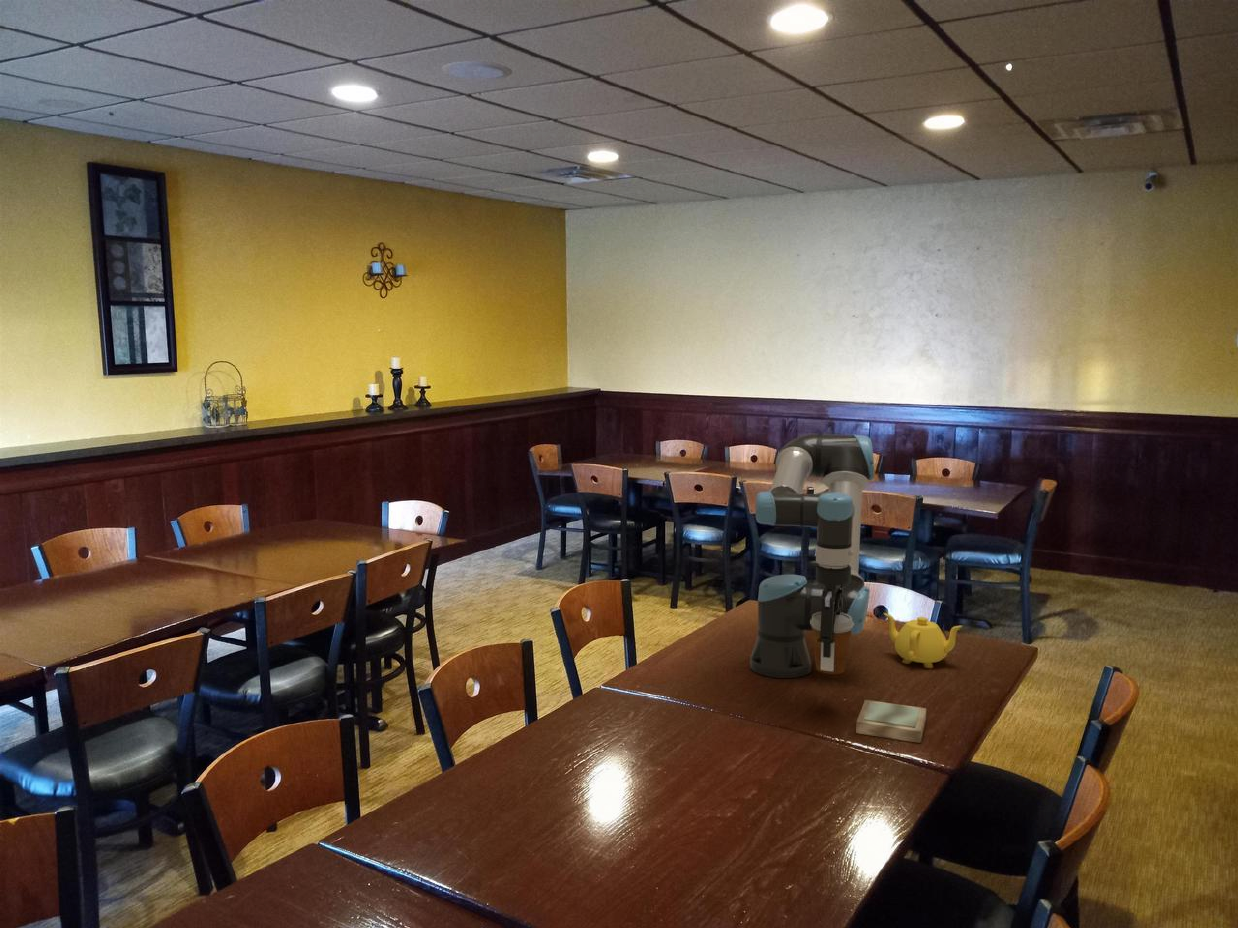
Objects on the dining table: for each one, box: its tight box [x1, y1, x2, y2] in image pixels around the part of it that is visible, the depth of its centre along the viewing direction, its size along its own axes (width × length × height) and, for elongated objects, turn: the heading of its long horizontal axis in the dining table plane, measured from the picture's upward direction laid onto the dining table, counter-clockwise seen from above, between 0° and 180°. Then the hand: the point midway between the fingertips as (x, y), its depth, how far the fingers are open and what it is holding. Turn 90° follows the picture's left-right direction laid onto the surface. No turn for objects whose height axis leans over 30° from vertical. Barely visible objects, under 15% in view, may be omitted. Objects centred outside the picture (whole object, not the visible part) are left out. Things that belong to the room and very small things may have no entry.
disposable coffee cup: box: [810, 612, 854, 675], centre depth 208 cm, size 10×10×12 cm
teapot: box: [883, 612, 963, 669], centre depth 239 cm, size 20×15×12 cm
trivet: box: [855, 699, 927, 744], centre depth 200 cm, size 13×13×3 cm
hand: (830, 663), depth 209 cm, fingers closed on disposable coffee cup, 8 cm apart
